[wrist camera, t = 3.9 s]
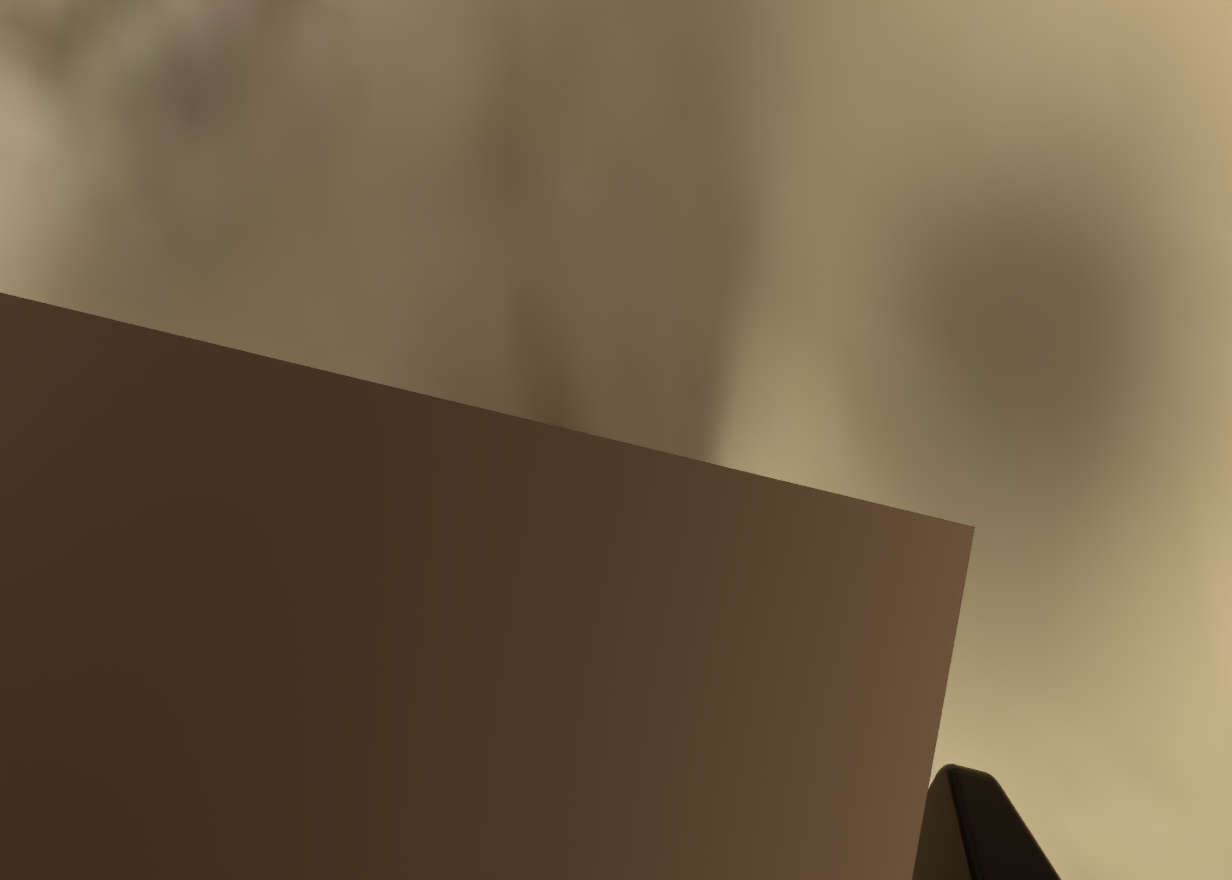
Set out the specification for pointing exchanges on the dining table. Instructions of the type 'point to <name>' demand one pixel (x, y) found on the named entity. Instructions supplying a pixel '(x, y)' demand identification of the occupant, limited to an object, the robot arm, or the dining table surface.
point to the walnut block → (434, 637)
